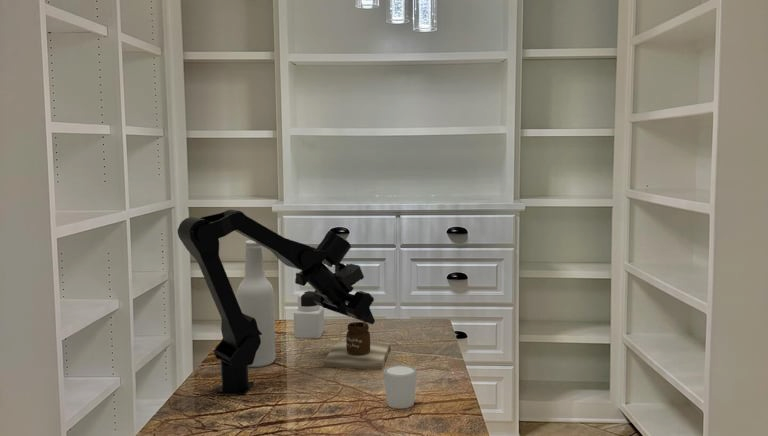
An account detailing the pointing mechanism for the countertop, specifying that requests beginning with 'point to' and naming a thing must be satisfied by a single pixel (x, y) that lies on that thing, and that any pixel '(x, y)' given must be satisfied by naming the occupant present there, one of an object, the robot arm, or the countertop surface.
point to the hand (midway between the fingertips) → (362, 318)
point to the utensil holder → (358, 338)
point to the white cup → (400, 386)
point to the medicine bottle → (308, 317)
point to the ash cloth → (357, 356)
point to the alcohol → (258, 303)
